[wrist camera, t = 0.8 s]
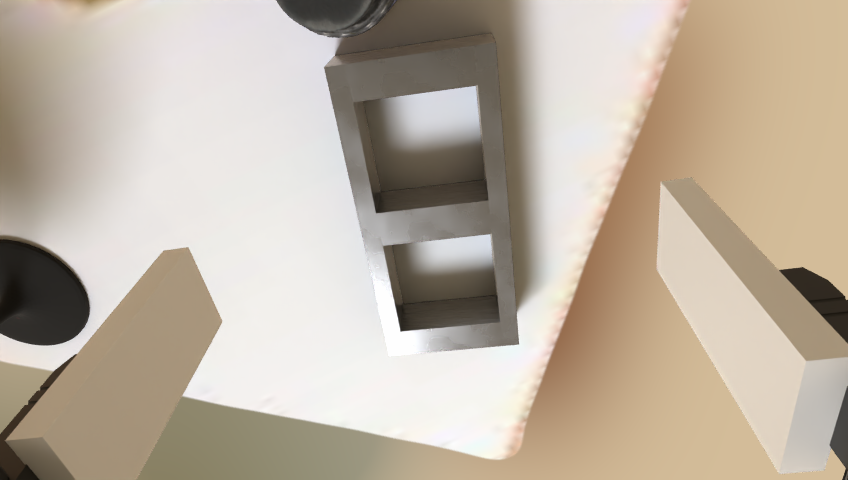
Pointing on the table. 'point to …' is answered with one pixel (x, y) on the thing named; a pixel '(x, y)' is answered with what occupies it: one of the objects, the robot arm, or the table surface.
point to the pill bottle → (336, 15)
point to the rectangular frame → (429, 192)
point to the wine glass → (39, 296)
